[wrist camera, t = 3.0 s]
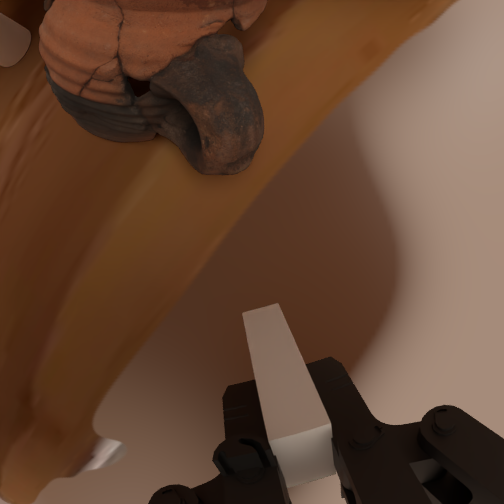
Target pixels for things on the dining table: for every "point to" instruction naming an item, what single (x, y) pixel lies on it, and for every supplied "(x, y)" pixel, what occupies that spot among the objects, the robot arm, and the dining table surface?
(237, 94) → the pottery mug
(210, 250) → the dining table surface
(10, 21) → the side counter
